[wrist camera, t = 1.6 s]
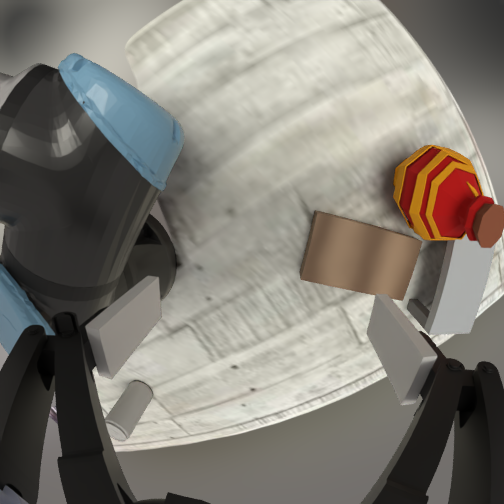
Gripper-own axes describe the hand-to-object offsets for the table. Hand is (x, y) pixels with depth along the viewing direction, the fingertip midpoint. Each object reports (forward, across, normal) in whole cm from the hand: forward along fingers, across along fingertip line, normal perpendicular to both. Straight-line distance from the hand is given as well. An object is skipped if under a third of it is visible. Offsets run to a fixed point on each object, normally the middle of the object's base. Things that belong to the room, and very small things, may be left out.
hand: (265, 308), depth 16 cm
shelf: (+18, +24, 0) cm, 30 cm away
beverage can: (+19, -21, -29) cm, 41 cm away
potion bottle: (+18, +17, +10) cm, 26 cm away
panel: (+19, +11, -1) cm, 22 cm away
